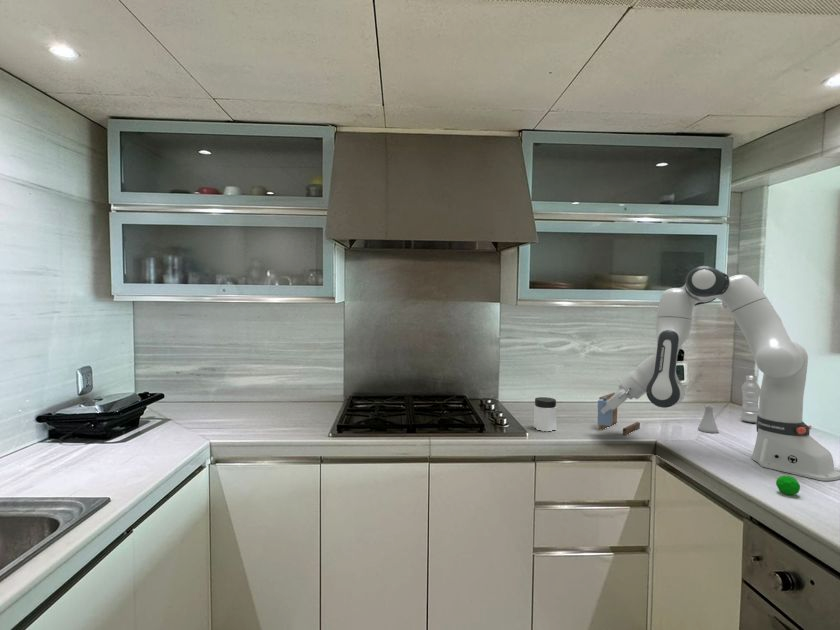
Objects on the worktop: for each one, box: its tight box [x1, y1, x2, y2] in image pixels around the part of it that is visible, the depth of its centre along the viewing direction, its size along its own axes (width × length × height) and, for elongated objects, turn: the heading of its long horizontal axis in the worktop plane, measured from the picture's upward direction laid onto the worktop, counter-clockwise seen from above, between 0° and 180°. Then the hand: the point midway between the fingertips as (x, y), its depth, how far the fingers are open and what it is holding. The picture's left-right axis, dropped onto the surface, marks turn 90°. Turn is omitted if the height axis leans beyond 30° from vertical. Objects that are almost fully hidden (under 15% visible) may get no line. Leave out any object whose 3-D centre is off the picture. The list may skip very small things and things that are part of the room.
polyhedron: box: [775, 475, 801, 496], centre depth 123 cm, size 5×5×5 cm
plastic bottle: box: [740, 374, 761, 423], centre depth 196 cm, size 6×7×20 cm
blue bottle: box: [597, 397, 613, 427], centre depth 173 cm, size 4×5×10 cm
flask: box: [697, 404, 719, 434], centre depth 182 cm, size 7×7×10 cm
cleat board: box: [598, 392, 641, 436], centre depth 183 cm, size 11×14×13 cm
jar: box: [533, 396, 558, 432], centre depth 182 cm, size 9×8×12 cm
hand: (603, 410), depth 173 cm, fingers closed on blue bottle, 5 cm apart
